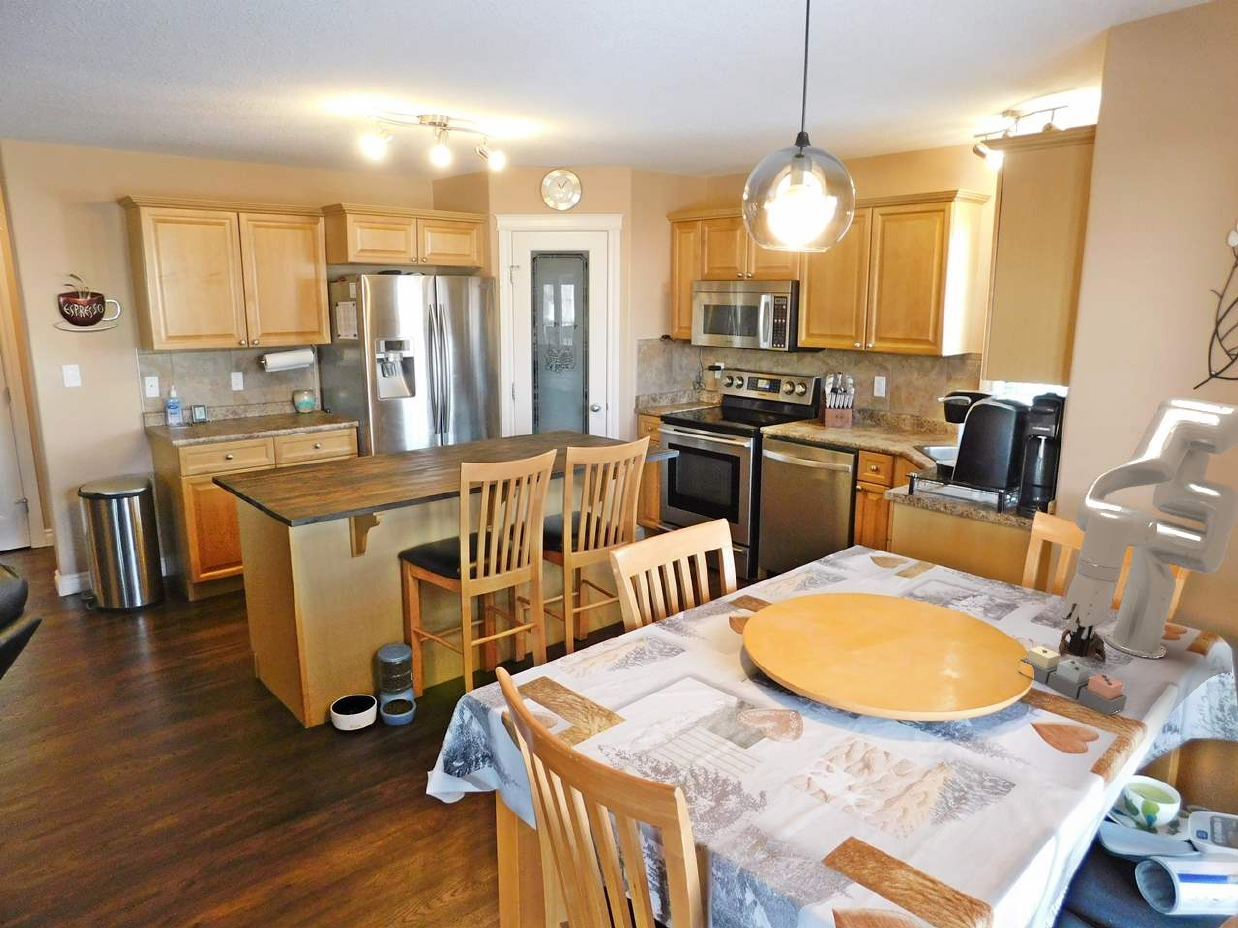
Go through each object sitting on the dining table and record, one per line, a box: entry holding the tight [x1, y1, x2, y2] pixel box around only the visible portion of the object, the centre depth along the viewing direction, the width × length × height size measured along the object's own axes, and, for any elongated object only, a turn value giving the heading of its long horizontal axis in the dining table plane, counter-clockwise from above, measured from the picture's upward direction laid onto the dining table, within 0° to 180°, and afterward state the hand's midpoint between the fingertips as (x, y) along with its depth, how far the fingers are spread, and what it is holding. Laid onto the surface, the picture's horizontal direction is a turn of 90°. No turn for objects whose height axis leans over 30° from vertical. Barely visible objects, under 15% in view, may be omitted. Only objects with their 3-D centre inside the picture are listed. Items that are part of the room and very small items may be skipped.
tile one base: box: [1020, 656, 1057, 686], centre depth 173 cm, size 6×6×3 cm
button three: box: [1087, 673, 1124, 700], centre depth 162 cm, size 4×4×4 cm
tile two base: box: [1046, 671, 1090, 701], centre depth 168 cm, size 6×6×3 cm
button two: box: [1056, 659, 1092, 685], centre depth 167 cm, size 4×4×4 cm
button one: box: [1026, 645, 1061, 670], centre depth 172 cm, size 4×4×4 cm
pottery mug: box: [1058, 628, 1107, 663], centre depth 185 cm, size 12×10×8 cm
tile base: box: [1077, 685, 1128, 716], centre depth 162 cm, size 6×6×3 cm
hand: (1076, 653), depth 166 cm, fingers closed
